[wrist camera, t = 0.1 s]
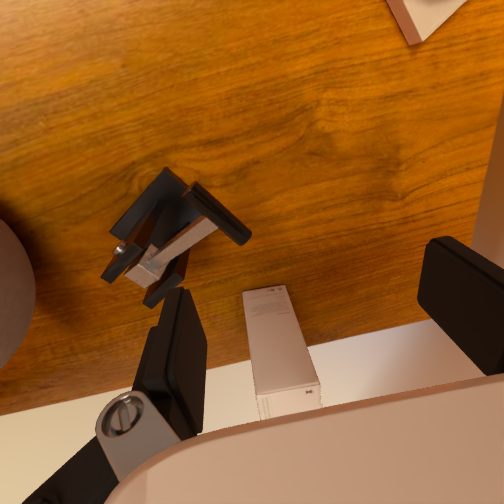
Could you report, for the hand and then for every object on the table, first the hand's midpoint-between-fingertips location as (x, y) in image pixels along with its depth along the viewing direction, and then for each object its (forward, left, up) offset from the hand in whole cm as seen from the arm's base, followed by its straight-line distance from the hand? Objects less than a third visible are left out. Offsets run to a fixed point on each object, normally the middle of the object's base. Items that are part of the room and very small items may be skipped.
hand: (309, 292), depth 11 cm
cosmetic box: (+16, -13, -23) cm, 31 cm away
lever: (-2, -7, -12) cm, 14 cm away
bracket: (-2, -12, -23) cm, 26 cm away
